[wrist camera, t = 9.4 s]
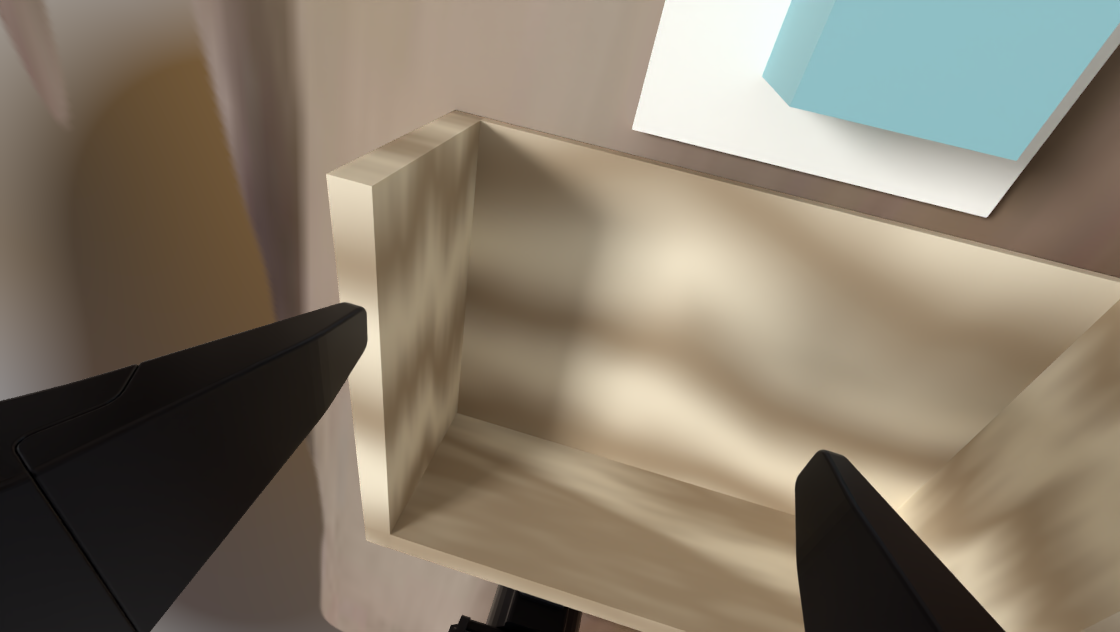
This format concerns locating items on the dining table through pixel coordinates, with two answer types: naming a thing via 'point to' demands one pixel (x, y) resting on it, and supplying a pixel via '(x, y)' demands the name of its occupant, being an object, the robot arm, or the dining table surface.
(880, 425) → the birch crate
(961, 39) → the teal block
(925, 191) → the off-white mat
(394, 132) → the dining table surface
